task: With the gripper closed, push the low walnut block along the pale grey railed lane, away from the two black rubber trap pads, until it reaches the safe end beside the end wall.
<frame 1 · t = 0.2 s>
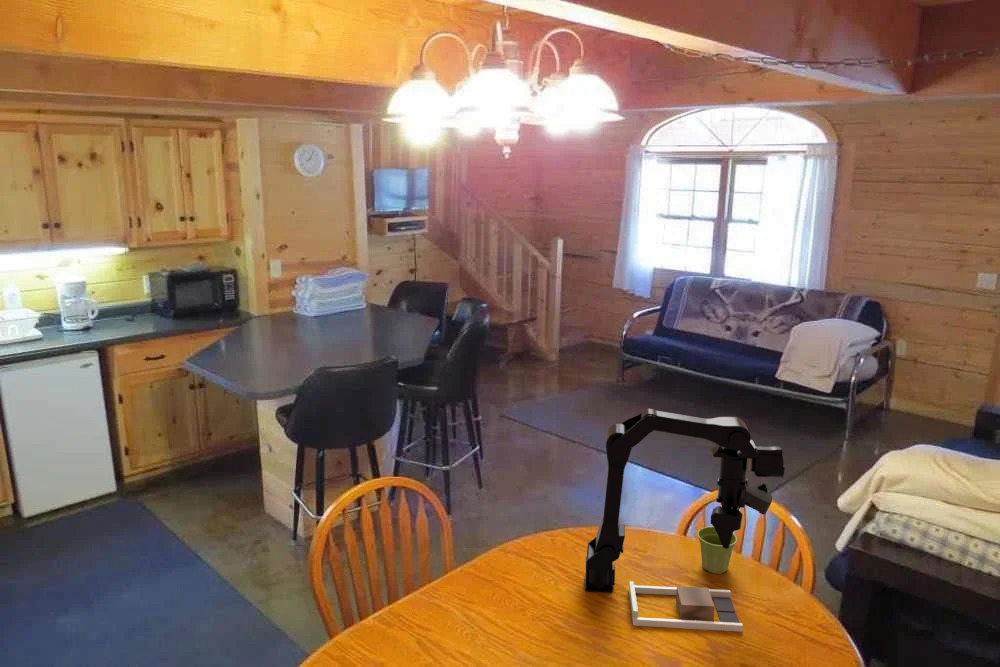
hand: (728, 538, 158), 14 cm above the table, tool pointing down, fingers open, 9 cm apart
lane: (682, 610, 155), on the table
walnut block: (694, 611, 155), resting in lane
plant pot: (715, 568, 172), on the table
trap pads: (726, 612, 154), on the table
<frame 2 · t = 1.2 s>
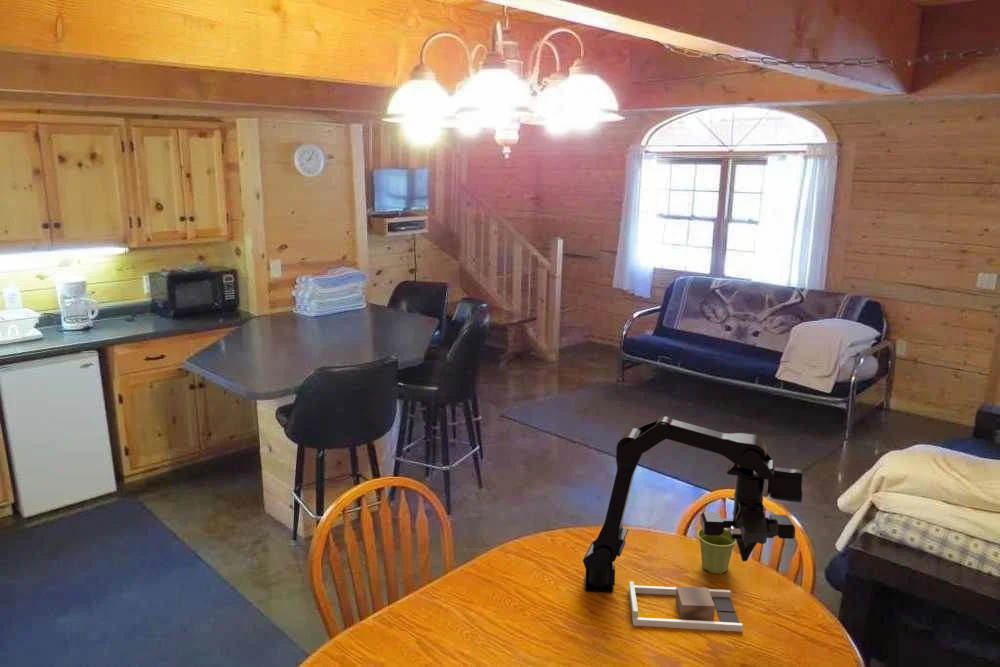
hand: (744, 560, 151), 13 cm above the table, tool pointing down, fingers closed
nothing on the table moved.
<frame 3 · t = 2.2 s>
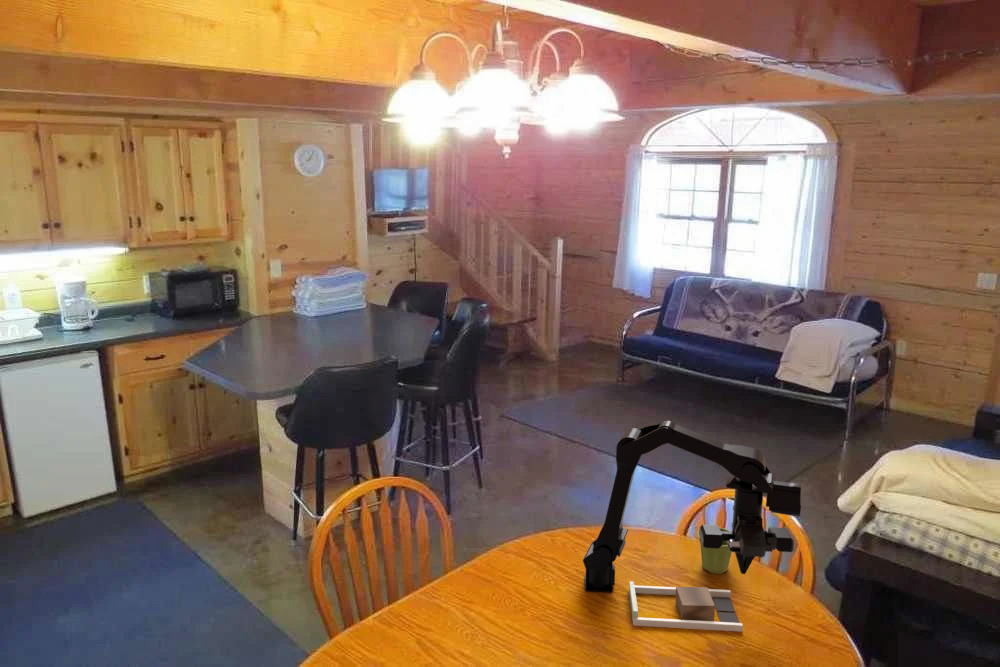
hand: (742, 573, 152), 10 cm above the table, tool pointing down, fingers closed
nothing on the table moved.
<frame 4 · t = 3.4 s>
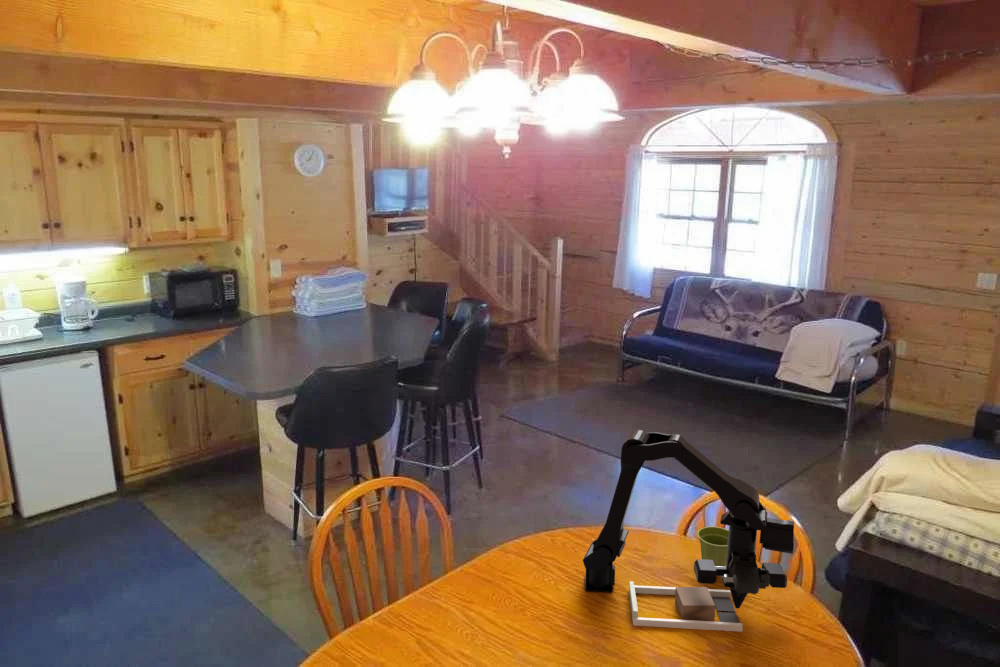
hand: (736, 607, 154), 1 cm above the table, tool pointing down, fingers closed
nothing on the table moved.
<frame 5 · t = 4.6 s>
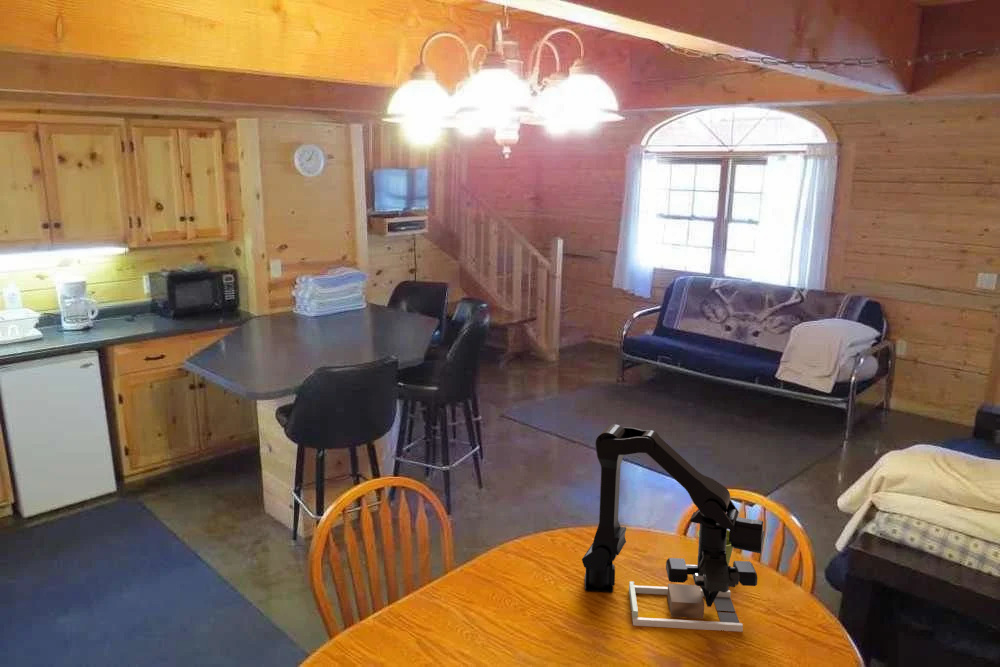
hand: (708, 605, 154), 1 cm above the table, tool pointing down, fingers closed
walnut block: (684, 609, 156), resting in lane, touching gripper
everything else where it was.
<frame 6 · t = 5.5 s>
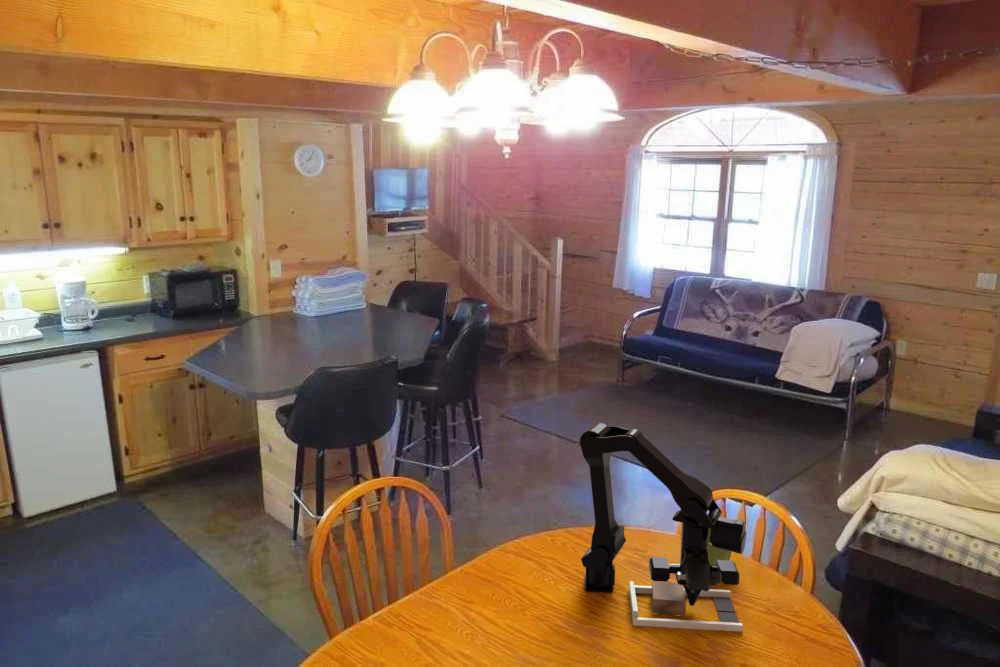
hand: (691, 604, 155), 1 cm above the table, tool pointing down, fingers closed
walnut block: (667, 606, 157), resting in lane, touching gripper
everything else where it was.
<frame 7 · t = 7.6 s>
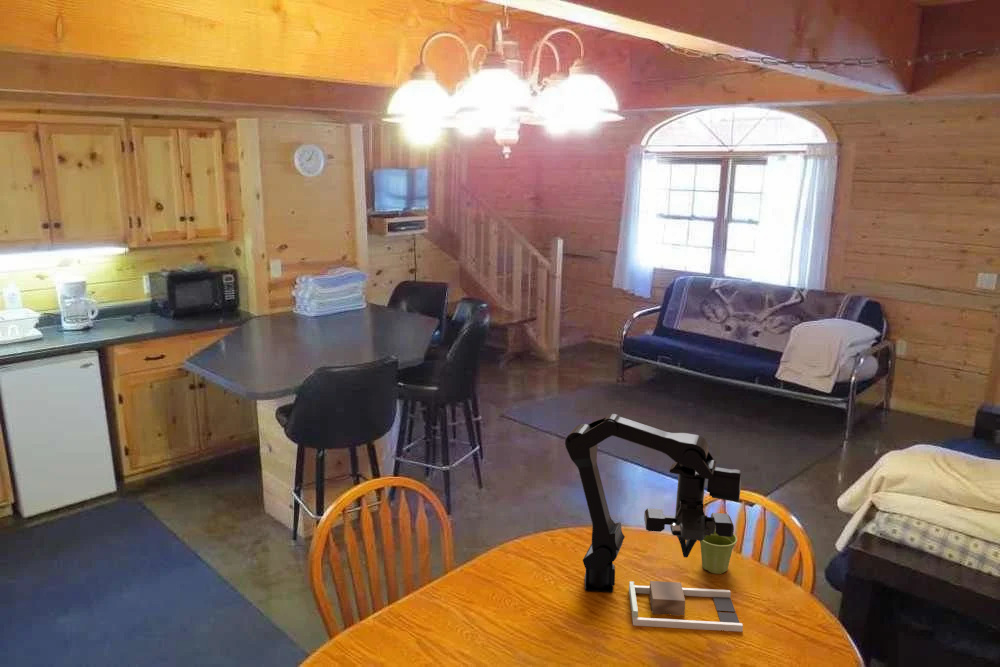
hand: (685, 556, 156), 11 cm above the table, tool pointing down, fingers closed
walnut block: (666, 606, 157), resting in lane
everything else where it was.
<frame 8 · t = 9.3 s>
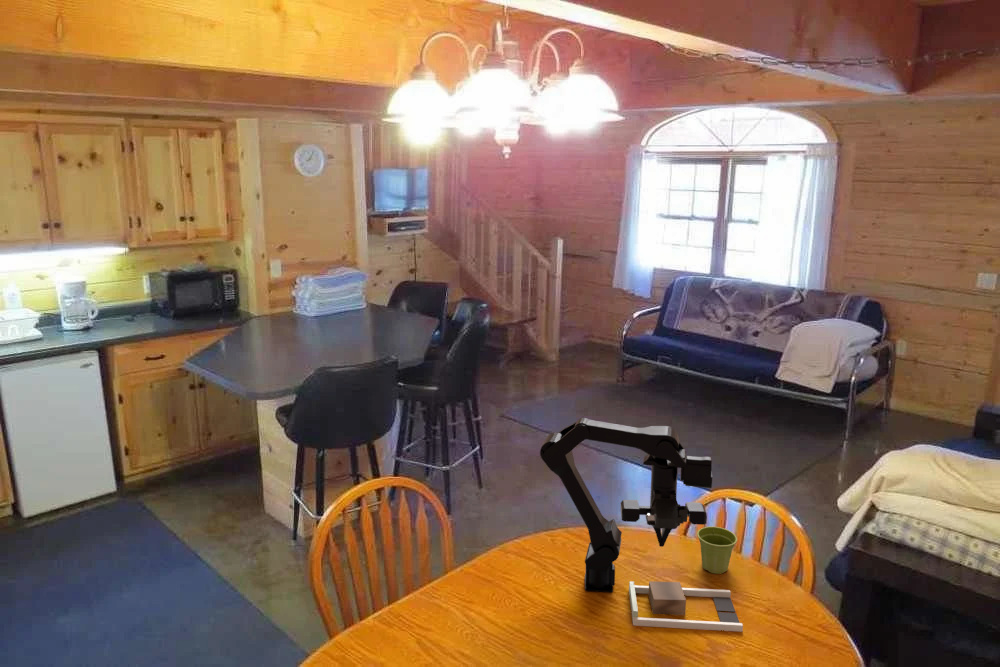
hand: (661, 545, 159), 12 cm above the table, tool pointing down, fingers closed
nothing on the table moved.
at the end: walnut block inside the target area (2.1 cm from its centre), resting in lane; walnut block touching table; walnut block tilted 0° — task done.
